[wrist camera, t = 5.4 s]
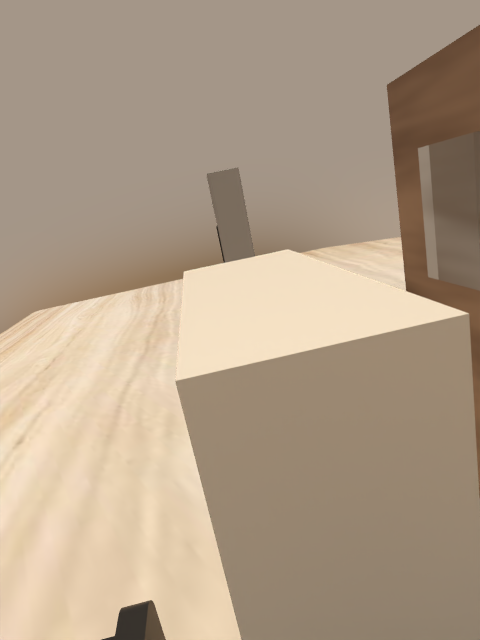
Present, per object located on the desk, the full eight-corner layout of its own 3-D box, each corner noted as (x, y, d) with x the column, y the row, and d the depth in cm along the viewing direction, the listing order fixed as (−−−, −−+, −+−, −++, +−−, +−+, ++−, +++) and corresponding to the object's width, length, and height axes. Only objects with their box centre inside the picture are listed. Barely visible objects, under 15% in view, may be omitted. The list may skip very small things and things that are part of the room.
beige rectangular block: (363, 702, 17) (288, 249, 12) (514, 1124, 9) (469, 313, 4) (289, 724, 16) (184, 271, 12) (378, 1173, 9) (175, 380, 4)
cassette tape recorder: (231, 304, 88) (205, 180, 81) (260, 299, 88) (236, 173, 81) (232, 322, 74) (201, 174, 68) (266, 315, 74) (238, 167, 68)
